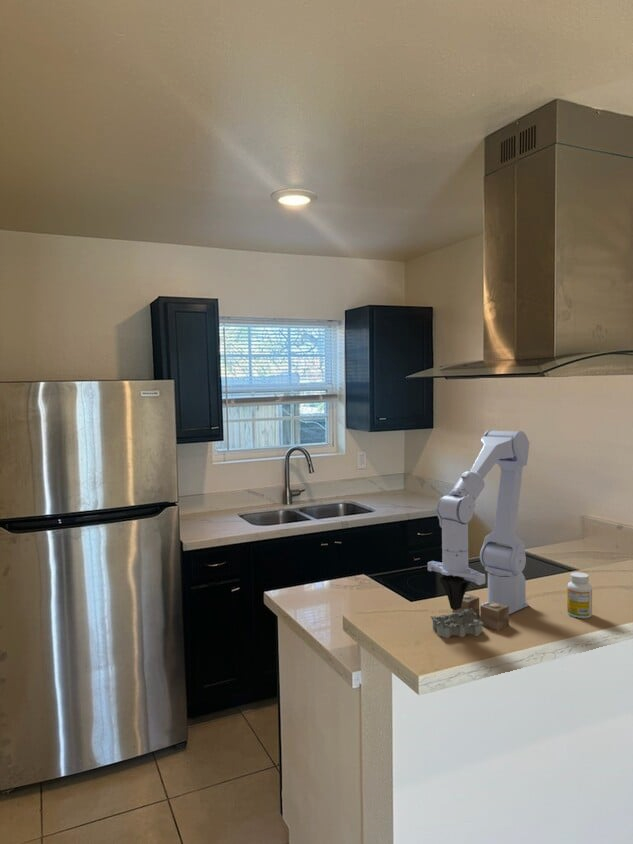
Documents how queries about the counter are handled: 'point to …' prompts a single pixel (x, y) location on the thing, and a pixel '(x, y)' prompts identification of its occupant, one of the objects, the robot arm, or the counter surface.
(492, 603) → the dotted block
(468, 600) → the dotted block
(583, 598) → the supplement bottle
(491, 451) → the robot arm
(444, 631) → the egg carton
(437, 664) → the counter surface
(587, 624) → the counter surface
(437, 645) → the counter surface
